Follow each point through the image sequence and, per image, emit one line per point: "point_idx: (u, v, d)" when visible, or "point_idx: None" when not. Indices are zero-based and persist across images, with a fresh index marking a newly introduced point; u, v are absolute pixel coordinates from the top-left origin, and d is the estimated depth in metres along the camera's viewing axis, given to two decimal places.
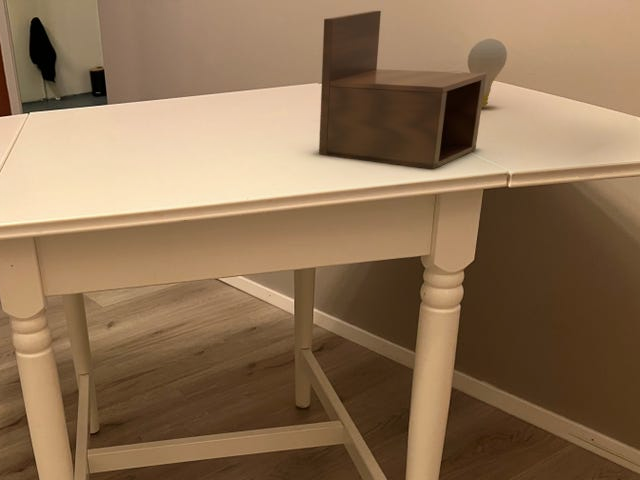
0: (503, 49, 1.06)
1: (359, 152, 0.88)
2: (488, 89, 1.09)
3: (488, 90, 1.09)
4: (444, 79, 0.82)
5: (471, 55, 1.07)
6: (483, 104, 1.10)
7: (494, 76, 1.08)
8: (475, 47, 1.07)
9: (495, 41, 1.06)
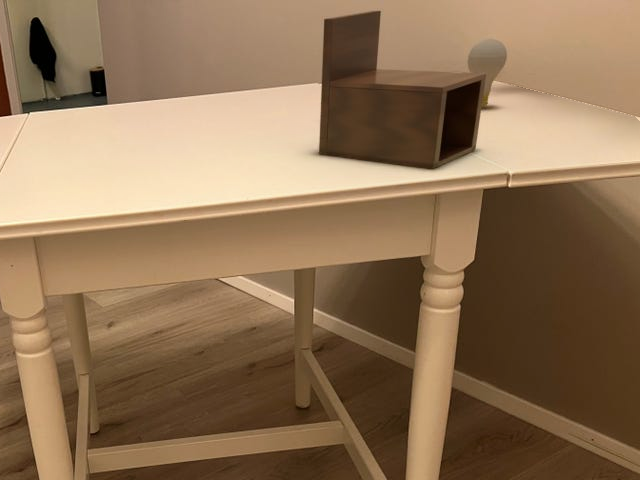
0: (503, 49, 1.06)
1: (359, 152, 0.88)
2: (488, 89, 1.09)
3: (488, 90, 1.09)
4: (444, 79, 0.82)
5: (471, 55, 1.07)
6: (483, 104, 1.10)
7: (494, 76, 1.08)
8: (475, 47, 1.07)
9: (495, 41, 1.06)
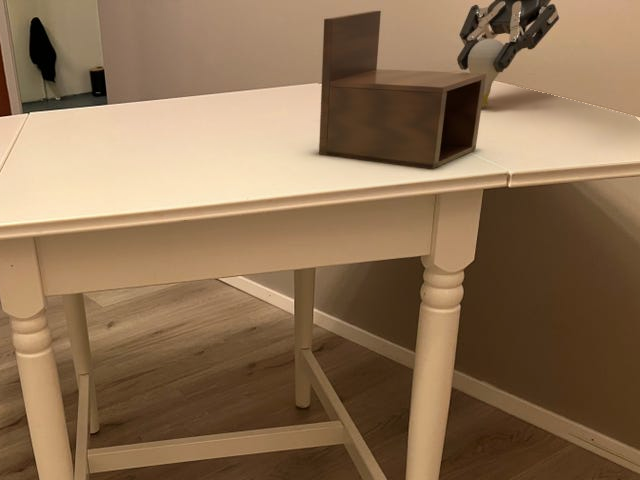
0: None
1: (359, 152, 0.88)
2: (488, 89, 1.09)
3: (488, 90, 1.09)
4: (444, 79, 0.82)
5: (471, 55, 1.07)
6: (483, 104, 1.10)
7: (494, 76, 1.08)
8: (475, 47, 1.07)
9: (495, 41, 1.06)
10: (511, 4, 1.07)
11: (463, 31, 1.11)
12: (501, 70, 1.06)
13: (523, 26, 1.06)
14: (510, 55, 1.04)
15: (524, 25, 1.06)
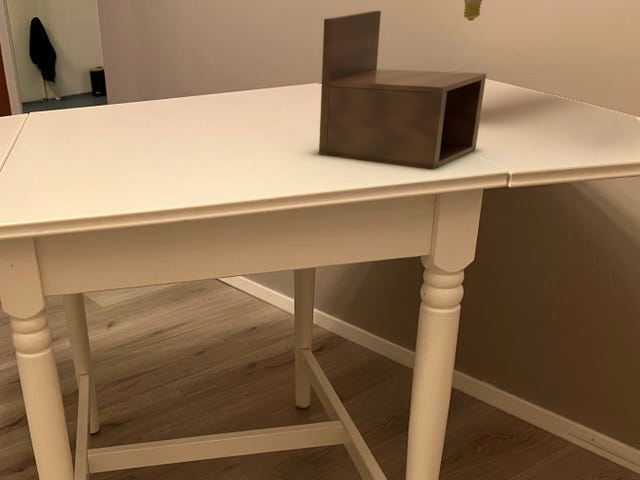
0: None
1: (359, 152, 0.88)
2: None
3: None
4: (444, 79, 0.82)
5: None
6: (474, 15, 0.96)
7: None
8: None
9: None
10: None
11: None
12: None
13: None
14: None
15: None
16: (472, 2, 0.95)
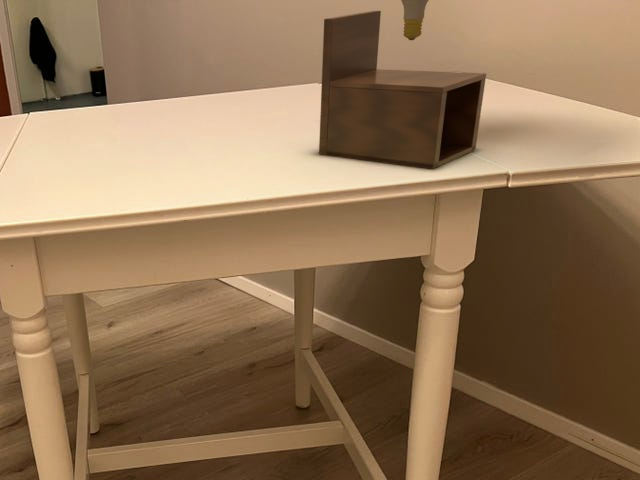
0: None
1: (359, 152, 0.88)
2: (421, 13, 0.82)
3: (421, 14, 0.82)
4: (444, 79, 0.82)
5: None
6: (415, 34, 0.83)
7: None
8: None
9: None
10: None
11: None
12: None
13: None
14: None
15: None
16: (412, 19, 0.82)
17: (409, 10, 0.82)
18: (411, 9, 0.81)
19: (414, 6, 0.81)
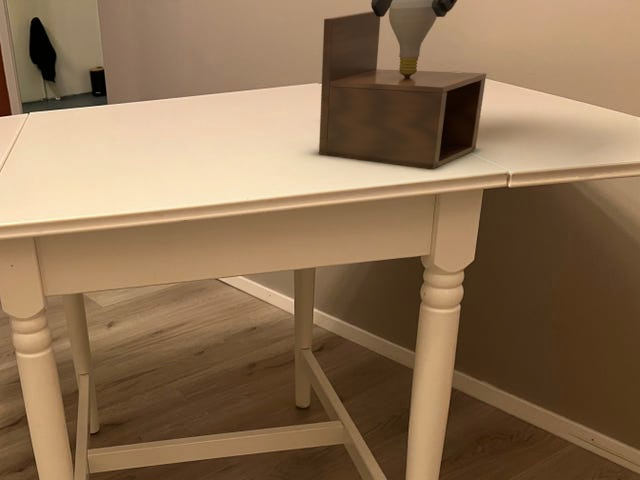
0: None
1: (359, 152, 0.88)
2: (416, 52, 0.83)
3: (416, 53, 0.84)
4: (444, 79, 0.82)
5: (392, 6, 0.82)
6: (410, 72, 0.85)
7: (423, 34, 0.82)
8: None
9: None
10: None
11: None
12: (443, 14, 0.79)
13: None
14: None
15: None
16: (407, 58, 0.84)
17: (405, 49, 0.84)
18: (407, 48, 0.83)
19: (410, 45, 0.83)
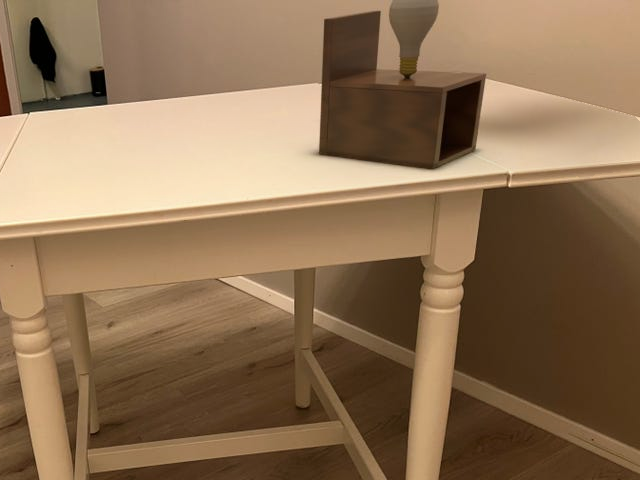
0: None
1: (359, 152, 0.88)
2: (416, 52, 0.83)
3: (416, 53, 0.84)
4: (444, 79, 0.82)
5: (392, 6, 0.82)
6: (410, 72, 0.85)
7: (423, 34, 0.82)
8: None
9: None
10: None
11: None
12: None
13: None
14: None
15: None
16: (407, 58, 0.84)
17: (405, 49, 0.84)
18: (407, 48, 0.83)
19: (410, 45, 0.83)
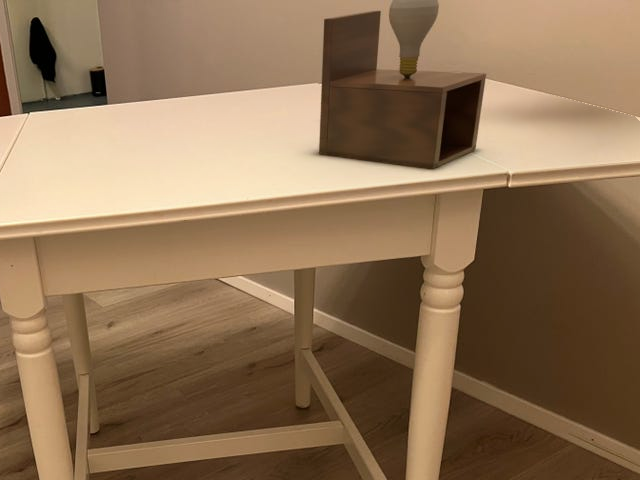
0: None
1: (359, 152, 0.88)
2: (416, 52, 0.83)
3: (416, 53, 0.84)
4: (444, 79, 0.82)
5: (392, 6, 0.82)
6: (410, 72, 0.85)
7: (423, 34, 0.82)
8: None
9: None
10: None
11: None
12: None
13: None
14: None
15: None
16: (407, 58, 0.84)
17: (405, 49, 0.84)
18: (407, 48, 0.83)
19: (410, 45, 0.83)
